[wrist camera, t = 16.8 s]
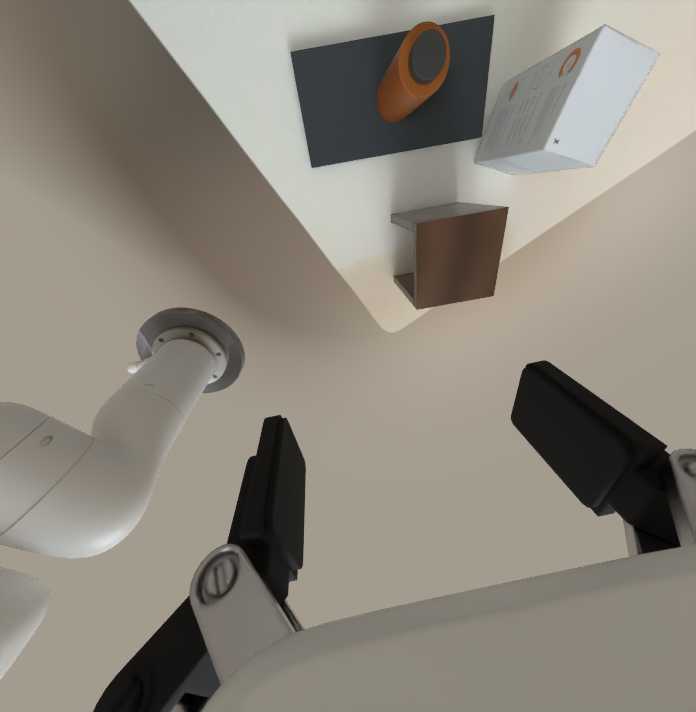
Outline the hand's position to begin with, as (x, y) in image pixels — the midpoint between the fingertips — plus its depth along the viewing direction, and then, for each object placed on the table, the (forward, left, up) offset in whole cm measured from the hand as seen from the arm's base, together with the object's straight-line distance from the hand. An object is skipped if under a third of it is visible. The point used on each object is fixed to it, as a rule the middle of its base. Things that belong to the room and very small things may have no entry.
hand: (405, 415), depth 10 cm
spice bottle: (+9, +16, -34) cm, 38 cm away
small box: (+24, +11, -35) cm, 44 cm away
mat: (+9, +16, -35) cm, 39 cm away
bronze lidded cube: (+13, -1, -35) cm, 37 cm away
